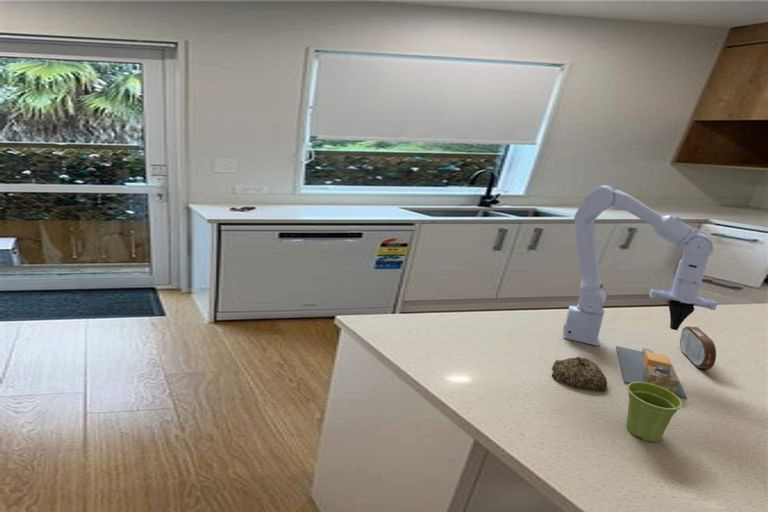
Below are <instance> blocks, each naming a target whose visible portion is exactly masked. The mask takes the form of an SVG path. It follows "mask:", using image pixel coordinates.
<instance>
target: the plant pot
mask: <svg viewBox="0 0 768 512" xmlns="http://www.w3.org/2000/svg"><path fill="white" fill-rule="evenodd" d="M626 390H627V393H628V398H629V399H628V400H629V401H628V409H627V421H626V429H628V431H629V432H630V433H631V434H632V435H633V436H635V437H639V438H641V439H642V440H644V441H646V442H652V443H653V442H654V443H655V442H659V441H660V440H661V439H662V438H663V436H664V434H665V432H666V430H667V427H669V424H670V422H671V420H672V418H673V416H674V415H675V414H676V413H677V411H678V410H681V408H682V407H683V402H682V399H680V397H677V396H676V395H675V394H674V393H672V392H670V391H669V390H667V389H665V388H662V387H660V386H657V385H654V384H650V383H646V382H632V383H630V384H627V386H626Z"/></svg>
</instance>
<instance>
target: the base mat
mask: <svg viewBox="0 0 768 512" xmlns="http://www.w3.org/2000/svg"><path fill="white" fill-rule="evenodd" d="M615 349H616V354H617V358H618V362H619V365H620V370H621V371H620V372H621V375H622V380H623V383H624V384H626V385H628V384H630V383H632V382H644V380H643V375H644V372H645V368H644V365H643V364H644V362H643V355H642V351H641V350H638V349H637V350H636V349H632V348H628V347H623V346H619V345H616V346H615ZM670 371H674V372H675V374H676V376H677V378H678V380H679V377H678V375H677V372H676V370H675V368H674V365H673V364H672V365H671V368H670ZM675 395H676V396H677V397H679V398H681V399H685V400H686V399H687V398H688V397H687V394H686V393H685V390H684V388H683V386H682V383H681V381H680V380H679V383H678V387H677V390H676V393H675Z"/></svg>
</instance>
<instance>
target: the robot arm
mask: <svg viewBox="0 0 768 512" xmlns="http://www.w3.org/2000/svg"><path fill="white" fill-rule="evenodd" d="M612 206H613V207H612ZM610 207H612V210H613V211H627V212H628V213H629V214H631V215H632V216H635V217H637V218H639V219H640V220H643V222H646V223H647V224H650V226H653V228H654V232H655V234H656V235H657V236H659V237H660V238H662V239H664V240H665V241H667V242H669V243H670V244H672V245H674V246H675V247H677V248H682V249H683V252H682V256H681V259H680V260H679V262H678V266H677V269H676V272H675V276H674V279H673V283H672V285H671V289H670V290H661V289H660V290H659V289H653V288H651V289H650V290H649V294H648V296H649V298H650V299H657V300H662V301H667V304H668V308H669V309H668V310H669V315H670V317H669V318H670V321H669V322H670V323H669V328H670V329H671V330H673V331H678V329H679V328H680V326H681V325H682V323H683V322H684V321H685V320H686V319H687V318H688V317H689V316H690V315H692V314H693V312H694V311H695V309H696V308H695V307H701V308H704V309H705V308H706V309H709V310H711V311H712V310H713V311H715V310H716V308H717V306H718V302H716V300H711V299H708V298H704V297H701V296H698V295H699V291H700V287H701V284H702V281H703V278H704V276H705V272H706V269H707V263H708V261H709V257H710V256H711V255H712V254H713V251H714V247H713V246H714V245H713V242H712V239H711V238H710V236H708V235H707V234H706V233H705V232H702V231H700V229H699V228H697V227H694V228H693V227H692V226H691V225H688V224H687V223H685V222H684V221H682V217H680V216H679V215H676V216H674V215H671V214H668V215H661V214H659V212H657V211H655V210H654V209H652V208H650V207H649V206H647V205H645V204H644V203H643V202H641V201H640V200H638V199H636V198H635V197H634V196H631V194H628V193H626V192H624V191H622V190H620V189H616V188H615V187H613V186H611V185H609V184H603V185H600V186H598V187H595V188H592V189H591V190H590V191H589V192H588V193H586V195H584V197H583V199H582V201H581V203H580V205H579V208H578V209H577V211H576V212H575V214H574V218H573V219H574V227H575V229H574V230H575V236H576V244H577V245H576V246H577V251H578V260H579V269H580V279H581V281H580V286H579V287H580V295H579V297H578V299H577V300H578V301H577V305H569V306H568V310H567V313H566V317H565V318H566V319H565V322H564V323H563V324H564V325H563V328H562V329H563V338H564V339H567V340H571V341H575V342H580V343H583V344H584V343H585V344H588V345H592V346H597V347H598V346H600V345H601V343H600V339H599V334H600V331H601V327H602V323H603V318H604V313H605V310H604V308H603V306H604V303H605V302H606V301H607V299H608V291H607V290H606V288H605V287H604V285H603V279H602V277H601V273H600V263H599V255H598V247H597V239H596V238H597V237H596V230H595V220H596V219H597V218H598V217H599V216H600V215H601V214H602V213H603V212H604V211H606V210H608V209H609V208H610Z"/></svg>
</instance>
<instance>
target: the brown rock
mask: <svg viewBox="0 0 768 512" xmlns="http://www.w3.org/2000/svg"><path fill="white" fill-rule="evenodd" d="M551 370H552V373H551V377H552V378H553V380H555V381H556V382H558V383H561V384H563V385H567V386H569V387H574V388H578V389H582V390H588V391H589V390H590V391H597V392H604V391H606V390H607V388H608V380H607V377H606V376H605V374H604V373H603V371H602V369H601V368H600V366H598V364H596V363H595V362H593V361H592V360H591V359H589V358H586V357H580V356H576V357H570V358H569V357H568V358H566V359H563V360H559V359H558V360H557V359H556V360H555V362H553V365H552V367H551Z"/></svg>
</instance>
